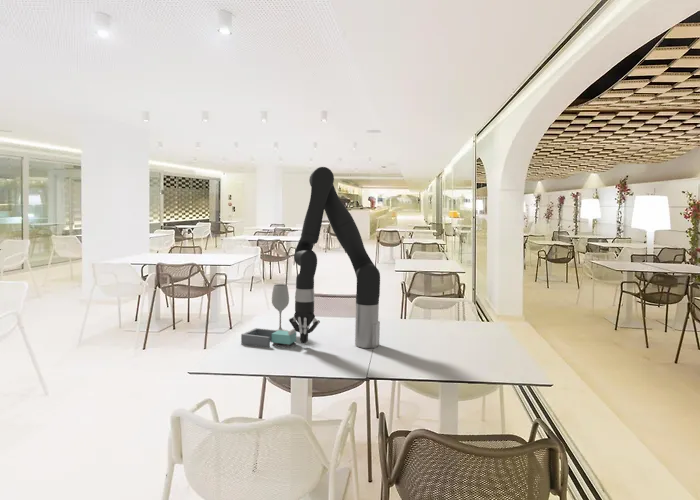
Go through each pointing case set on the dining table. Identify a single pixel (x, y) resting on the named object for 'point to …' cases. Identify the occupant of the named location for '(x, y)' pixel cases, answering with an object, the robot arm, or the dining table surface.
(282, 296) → the wineglass
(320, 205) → the robot arm
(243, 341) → the bay
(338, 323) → the dining table surface
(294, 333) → the teal box with handle
